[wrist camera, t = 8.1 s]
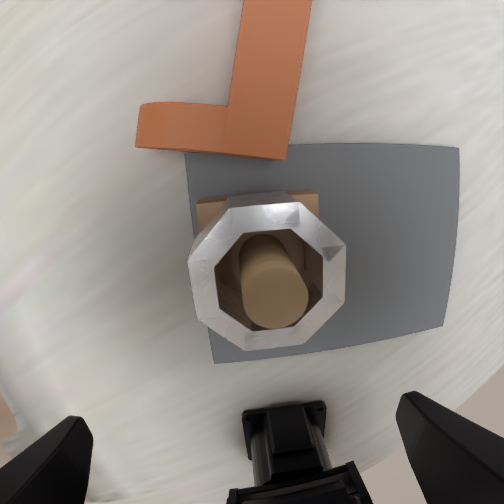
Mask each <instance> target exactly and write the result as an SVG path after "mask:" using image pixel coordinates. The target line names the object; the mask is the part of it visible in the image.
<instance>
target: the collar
mask: <svg viewBox="0 0 504 504" xmlns="http://www.w3.org/2000/svg"><path fill="white" fill-rule="evenodd" d="M289 228H290V229H292V230H293V231H294V232H295V233H296V234H297V235H299V236H300V237H301V238H302V239H303V240H304V252H305V269H304V270H303V271H302V272H301V273H300V276H301V278H302V280H303V281H304V283H305V285H306V287H307V290H308V304H307V307H306V309H305V311H304V313H303V314H302V315H301V317H300V318H299V319H298V320H297V321H295V322H294V323H292V324H290V325H288V326H286V327H282V328H276V329H271V328H265V327H261V326H259V325H257V324H256V323H254V322H253V321H252V320H251V319H250V318H249V317H248V316H247V314H246V312H245V309H244V305H243V296H242V292H240V291H239V290H238V289H236V288H235V287H233V286H232V285H231V284H229V283H228V282H227V281H225V280H224V279H223V278H221V275H220V267H219V261H220V260H221V258H222V257H223V256H224V255H225V254H226V253H227V251H228V250H229V249H230V248H231V247H232V245H233V244H234V243H235V242H236V241H237V240H238V238H239V237H240V236H241V235H242V234H243V233H247V232H257V231H268V230H278V229H289ZM187 262H188V269H189V275H190V281H191V287H192V293H193V299H194V305H195V311H196V316H197V319H198V320H199V321H200V322H202V323H203V324H205V325H206V326H208V327H209V328H211V329H212V330H214V331H215V332H217V333H218V334H220V335H221V336H223V337H224V338H226V339H227V340H229V341H230V342H232V343H233V344H235V345H236V346H238V347H240V348H241V349H243V350H244V351H245V350H246V351H251V350H260V349H269V348H277V347H285V346H293V345H300V344H303V343H305V342H306V341H307V340H308V339H309V338H310V337H311V336H312V335H313V334H314V333H315V332H316V331H317V330H318V329H319V328H320V327H321V326H322V325H323V324H324V323H325V322H326V321H327V320H328V319H329V318H330V317H331V316H332V315H333V314H334V313H335V312H336V311H337V310H338V309H339V308H340V307H341V306H342V305H343V304H344V302H345V275H346V245H345V243H344V242H343V241H342V240H341V239H340V238H339V237H337V236H336V235H335V234H334V233H333V232H332V231H331V230H330V229H329V228H328V227H327V226H326V225H324V224H323V223H322V222H321V221H320V220H319V219H318V218H317V217H316V216H315V215H313V214H312V213H311V212H310V211H309V210H308V209H307V208H306V207H305V206H303V205H302V204H301V203H300V202H299V201H297V200H296V199H295V198H293V197H292V196H290V195H289V194H288V193H286V192H284V191H278V192H266V193H254V194H243V195H233V196H229V197H228V198H227V200H226V201H225V202H224V203H223V204H222V206H221V207H220V208H219V209H218V210H217V212H216V213H215V214H214V215H213V217H212V218H211V219H210V220H209V221H208V223H207V224H206V225H205V226H204V228H203V229H202V230H201V231H200V233H199V234H198V235H197V236H196V238H195V241H194V244H193V246H192V249H191V252H190V255H189V257H188V260H187Z"/></svg>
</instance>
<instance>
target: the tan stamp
mask: <svg viewBox="0 0 504 504" xmlns="http://www.w3.org/2000/svg"><path fill="white" fill-rule="evenodd" d="M286 193H288V194H289V195H290V196H292V197H293V198H295V199H296V200H297V201H299V202H300V203H301V204H302V205H303V206H305V207H306V208H307V209H308V210H309V211H310V212H311V213H312V214H313V215H315V216H316V217H317V218H318V219H319V204H318V193H316V192H314V191H312V190H304V191H290V192H286ZM227 198H228V197H221V198H211V199H202V200H199V201H198V202H197V204H196V207H197V215H198V224H199V232H200V231H201V230H202V229H203V228H204V226H205V225H206V224H207V223H208V221H209V220H210V219H211V218H212V217H213V215H214V214H215V213H216V212H217V210H218V209H219V208H220V207H221V206H222V204H223V203H224V202H225V201H226V200H227ZM219 267H220V275H221V278H223V279H224V280H225V281H227V282H228V283H229V284H231V285H232V286H233V287H235V288H236V289H238V290H239V291H240V292H242V296H243V305H244V309H245V312H246V314H247V316H248V317H249V318H250V319H251V320H252V321H253V322H254V323H256V324H257V325H259V326H261V327H265V328H271V329H276V328H282V327H286V326H288V325H290V324H292V323H294V322H295V321H297V320H298V319H299V318H300V317H301V315H302V314H303V313H304V311H305V309H306V307H307V304H308V290H307V287H306V285H305V283H304V281H303V280H302V278H301V276H300V273H301V272H302V271H303V270H304V269H305V252H304V240H303V239H302V238H301V237H300V236H299V235H297V234H296V233H295V232H294V231H293V230H292V229H290V228H289V229H278V230H268V231H257V232H247V233H243V234H242V235H241V236H240V237H239V238H238V240H237V241H236V242H235V243H234V244H233V245H232V247H231V248H230V249H229V250H228V251H227V253H226V254H225V255H224V256H223V257H222V258H221V260H220V261H219Z"/></svg>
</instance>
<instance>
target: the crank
mask: <svg viewBox="0 0 504 504" xmlns="http://www.w3.org/2000/svg"><path fill="white" fill-rule="evenodd" d="M311 3H312V0H244V4H243V10H242V16H241V22H240V28H239V35H238V41H237V47H236V54H235V60H234V67H233V74H232V81H231V88H230V95H229V102H228V106H220V105H209V104H197V103H182V102H153V103H146V104H143V105H141V106H140V111H139V118H138V125H137V133H136V141H135V147H138V148H148V149H160V150H172V151H185V152H197V153H208V154H218V155H227V156H236V157H245V158H253V159H261V160H268V161H280V160H285V159H286V153H287V148H288V142H289V136H290V130H291V125H292V119H293V113H294V107H295V101H296V96H297V90H298V84H299V78H300V72H301V66H302V60H303V54H304V47H305V41H306V35H307V29H308V22H309V16H310V10H311Z"/></svg>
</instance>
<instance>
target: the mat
mask: <svg viewBox="0 0 504 504" xmlns="http://www.w3.org/2000/svg"><path fill="white" fill-rule="evenodd" d="M185 162H186V172H187V181H188V190H189V199H190V207H191V216H192V224H193V232H194V239H195V238H196V236H197V235H198V234H199V233H200V232H199V224H198V215H197V207H196V204H197V202H198V201H199V200H202V199H211V198H221V197H229V196H233V195H243V194H254V193H266V192H278V191H284V192H290V191H304V190H312V191H314V192H316V193H318V204H319V220H320V221H321V222H322V223H323V224H324V225H326V226H327V227H328V228H329V229H330V230H331V231H332V232H333V233H334V234H335V235H336V236H337V237H339V238H340V239H341V240H342V241H343V242H344V243H345V245H346V275H345V302H344V304H343V305H342V306H341V307H340V308H339V309H338V310H337V311H336V312H335V313H334V314H333V315H332V316H331V317H330V318H329V319H328V320H327V321H326V322H325V323H324V324H323V325H322V326H321V327H320V328H319V329H318V330H317V331H316V332H315V333H314V334H313V335H312V336H311V337H310V338H309V339H308V340H307V341H306V342H305V343H303V344H300V345H293V346H285V347H277V348H269V349H260V350H251V351H246V350H245V351H244V350H243V349H241V348H240V347H238V346H236V345H235V344H233V343H232V342H230V341H229V340H227V339H226V338H224V337H223V336H221V335H220V334H218V333H217V332H215V331H214V330H212V329H211V328H209V327H208V332H209V338H210V343H211V349H212V355H213V360H214V364H216V363H229V362H240V361H250V360H259V359H268V358H277V357H285V356H292V355H299V354H306V353H313V352H320V351H326V350H332V349H338V348H344V347H349V346H355V345H360V344H365V343H371V342H376V341H380V340H385V339H390V338H395V337H399V336H404V335H408V334H412V333H416V332H421V331H425V330H429V329H433V328H437V327H440V326H443V323H444V318H445V313H446V308H447V302H448V297H449V291H450V285H451V278H452V271H453V264H454V256H455V247H456V237H457V225H458V209H459V179H460V162H459V148H454V147H442V146H427V145H407V144H372V143H337V144H301V145H288V148H287V153H286V159H285V160H280V161H268V160H261V159H253V158H245V157H236V156H227V155H218V154H208V153H191V154H185Z"/></svg>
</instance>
